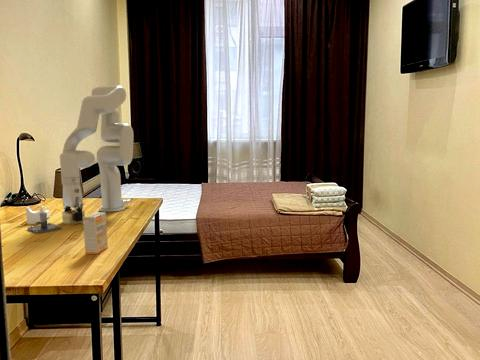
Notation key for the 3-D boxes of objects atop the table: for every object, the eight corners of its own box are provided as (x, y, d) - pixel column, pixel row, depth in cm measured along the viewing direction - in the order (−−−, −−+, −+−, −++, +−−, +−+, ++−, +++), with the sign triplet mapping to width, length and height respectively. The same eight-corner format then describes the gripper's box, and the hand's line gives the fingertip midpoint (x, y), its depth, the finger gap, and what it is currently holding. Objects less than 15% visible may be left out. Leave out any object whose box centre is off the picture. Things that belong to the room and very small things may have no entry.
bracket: (44, 223, 214) (43, 206, 213) (27, 224, 213) (25, 207, 212) (50, 217, 227) (48, 201, 226) (34, 218, 226) (32, 202, 224)
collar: (77, 220, 218) (76, 209, 218) (85, 222, 213) (84, 211, 213) (62, 222, 213) (61, 211, 213) (70, 225, 208) (69, 214, 208)
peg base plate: (51, 225, 209) (49, 209, 208) (61, 229, 202) (60, 212, 201) (27, 229, 202) (26, 213, 201) (37, 233, 195) (35, 216, 194)
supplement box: (98, 254, 165) (95, 217, 163) (84, 254, 166) (82, 216, 164) (108, 247, 173) (106, 211, 171) (96, 247, 174) (93, 211, 172)
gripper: (88, 181, 207) (91, 220, 210) (69, 178, 219) (72, 215, 222) (71, 183, 202) (74, 223, 204) (53, 180, 214) (56, 218, 217)
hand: (73, 219), depth 213 cm, fingers open, 9 cm apart
